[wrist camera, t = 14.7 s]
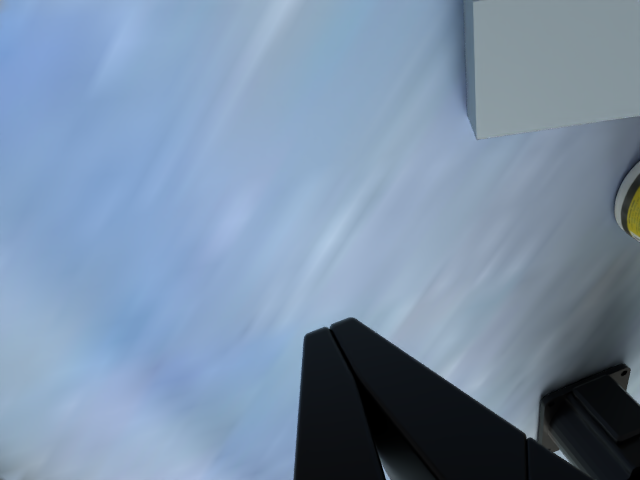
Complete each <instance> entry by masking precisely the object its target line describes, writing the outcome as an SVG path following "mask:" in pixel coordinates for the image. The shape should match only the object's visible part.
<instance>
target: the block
mask: <svg viewBox="0 0 640 480" xmlns="http://www.w3.org/2000/svg"><path fill="white" fill-rule="evenodd" d="M463 6H464V34H465V62H466V89H467V116H468V119H469V121H470V124H471V126H472V129H473V132H474V134H475V137H476V139H477V140H479V139H486V138H492V137H499V136H506V135H513V134H520V133H526V132H533V131H540V130H547V129H554V128H561V127H567V126H574V125H581V124H588V123H595V122H601V121H608V120H615V119H622V118H629V117H636V116H640V0H463Z"/></svg>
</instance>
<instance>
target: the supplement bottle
mask: <svg viewBox="0 0 640 480" xmlns="http://www.w3.org/2000/svg"><path fill="white" fill-rule="evenodd" d="M615 218H616V221H617V223H618V225H619V226H620V228H621V229H622V230H623V231H625V232H626V233H627V234H628V235H630V236H631V237H633V238H634V239H636V240H637V241H638V242H640V161H639V162H638V163H637V164H636V165H635V166H634V167H633V168H632V169H631V171H630V172H629V173H628V174H627V176H626V177H625V179H624V180H623V182H622V184H621V186H620V188H619V191H618V194H617V197H616V201H615Z"/></svg>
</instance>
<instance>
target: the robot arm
mask: <svg viewBox="0 0 640 480" xmlns="http://www.w3.org/2000/svg"><path fill="white" fill-rule="evenodd" d="M630 371H631V370H630V368H629V367H628V366H627V365H626V364H620V365H617V366H615V367H613V368H610V369H608V370H606V371H603V372H601V373H598V374H596V375H594V376H591V377H589V378H587V379H584V380H582V381H579V382H577V383H575V384H572V385H570V386H568V387H565V388H563V389H560V390H558V391H556V392H553V393H551V394H548V395H547V396H545V397H544V398H543V399H542V400H541V407H540V423H539V438H538V442H537V441H536V440H534V439H533V438H526V434H525V433H523V432H522V431H520V430H519V429H518V428H516V427H515V426H513V425H512V424H510V423H509V422H507V421H506V420H504V419H503V418H501V417H500V416H498V415H497V414H495V413H494V412H492V411H491V410H490V409H488V408H487V407H485V406H484V405H482V404H481V403H479V402H478V401H476V400H475V399H473V398H472V397H470V396H469V395H467V394H466V393H464V392H463V391H461V390H460V389H459V388H457V387H456V386H454V385H453V384H451V383H450V382H448V381H447V380H445V379H444V378H442V377H441V376H439V375H438V374H436V373H435V372H433V371H432V370H430V369H429V368H428V367H426V366H425V365H423V364H422V363H420V362H419V361H417V360H416V359H414V358H413V357H411V356H410V355H408V354H407V353H405V352H404V351H402V350H401V349H400V348H398V347H397V346H395V345H394V344H392V343H391V342H389V341H388V340H386V339H385V338H383V337H382V336H380V335H379V334H377V333H376V332H374V331H373V330H371V329H370V328H369V327H367V326H366V325H364V324H363V323H361V322H360V321H358V320H357V319H355V318H352V317H350V318H347V319H344V320H341V321H339V322H336V323H333V324H332V325H331V326H330V329H329V328H328V327H323V328H320V329H318V330H315V331H312V332H310V333H307V334H306V335H305V337H304V343H303V357H302V371H301V384H300V398H299V411H298V425H297V439H296V452H295V466H294V480H386V478H385V475H384V471H383V468H382V465H383V467H384V469H385V471H386V472H387V474H388V476H389V478H390V479H391V480H640V405H639V404H638V403H637V402H636V401H635V400H634V399H633V398H632V397H631V396H630V395H629V394H628V393H627V392H626V389H627V385H628V380H629V375H630ZM558 450H561V452H562V453H563V454H564V455H565V457H566V458H567V459H568V461H569V462H570V463H571V464H570V463H569V462H567V461H566V460H564V459H562V458H561V457H559V456H558V455H556V454H555V453H553V452H555V451H558ZM381 463H382V464H381Z"/></svg>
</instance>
